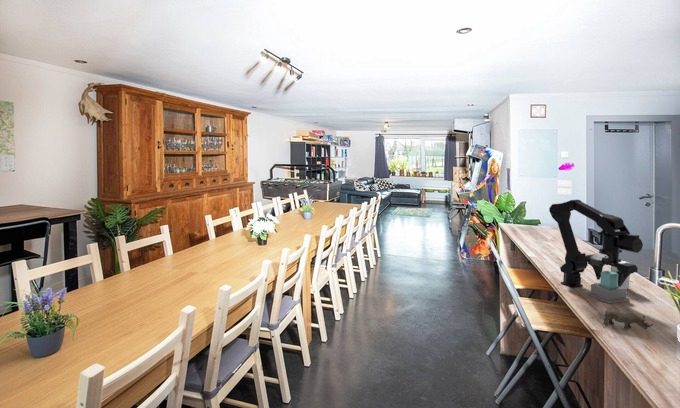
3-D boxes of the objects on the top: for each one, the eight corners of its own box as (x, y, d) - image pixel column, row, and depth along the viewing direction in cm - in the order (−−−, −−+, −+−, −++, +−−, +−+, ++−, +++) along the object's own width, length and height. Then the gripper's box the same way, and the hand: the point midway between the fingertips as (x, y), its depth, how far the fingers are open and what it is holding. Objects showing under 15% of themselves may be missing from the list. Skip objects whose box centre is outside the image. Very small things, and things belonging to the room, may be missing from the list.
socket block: (587, 294, 157) (588, 283, 156) (605, 292, 159) (606, 281, 158) (610, 303, 147) (610, 291, 146) (628, 300, 149) (629, 288, 149)
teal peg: (599, 294, 154) (601, 271, 153) (607, 293, 155) (608, 270, 154) (608, 297, 151) (610, 274, 149) (616, 296, 151) (617, 273, 150)
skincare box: (620, 285, 166) (622, 260, 164) (629, 289, 161) (631, 263, 160) (608, 286, 165) (610, 261, 164) (617, 290, 161) (618, 263, 159)
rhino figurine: (653, 335, 121) (654, 318, 120) (602, 325, 129) (603, 309, 128) (652, 330, 124) (653, 314, 123) (603, 320, 132) (603, 305, 132)
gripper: (575, 243, 157) (574, 278, 159) (617, 254, 139) (615, 292, 141) (596, 241, 160) (594, 275, 162) (639, 251, 142) (637, 289, 144)
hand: (608, 282), depth 152 cm, fingers open, 9 cm apart
